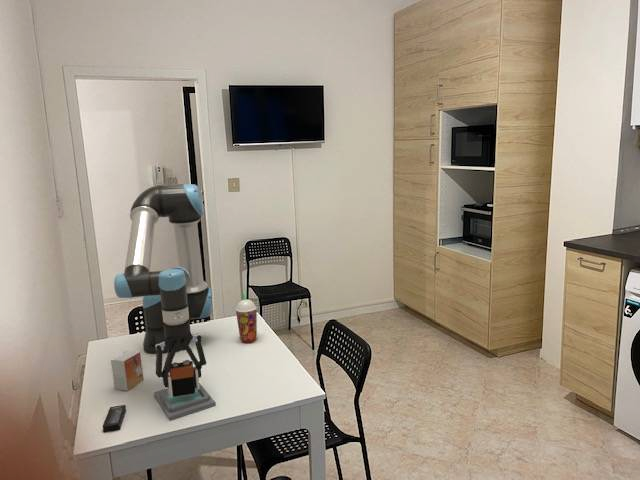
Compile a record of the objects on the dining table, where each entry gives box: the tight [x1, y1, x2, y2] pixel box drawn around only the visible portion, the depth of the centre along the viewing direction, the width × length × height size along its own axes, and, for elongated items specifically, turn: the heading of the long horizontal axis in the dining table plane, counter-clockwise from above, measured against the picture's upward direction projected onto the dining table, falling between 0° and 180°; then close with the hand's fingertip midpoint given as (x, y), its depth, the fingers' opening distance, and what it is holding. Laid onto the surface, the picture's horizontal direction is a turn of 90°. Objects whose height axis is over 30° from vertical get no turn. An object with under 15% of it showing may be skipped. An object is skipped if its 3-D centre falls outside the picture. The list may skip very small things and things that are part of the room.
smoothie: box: [235, 292, 258, 344], centre depth 193 cm, size 8×8×20 cm
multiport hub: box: [102, 404, 127, 433], centre depth 139 cm, size 4×11×2 cm, turn 13°
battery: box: [169, 359, 195, 397], centre depth 147 cm, size 4×7×10 cm, turn 104°
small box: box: [110, 349, 144, 392], centre depth 160 cm, size 8×6×10 cm
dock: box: [153, 382, 217, 422], centre depth 149 cm, size 18×14×2 cm
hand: (183, 391), depth 148 cm, fingers closed on battery, 8 cm apart
